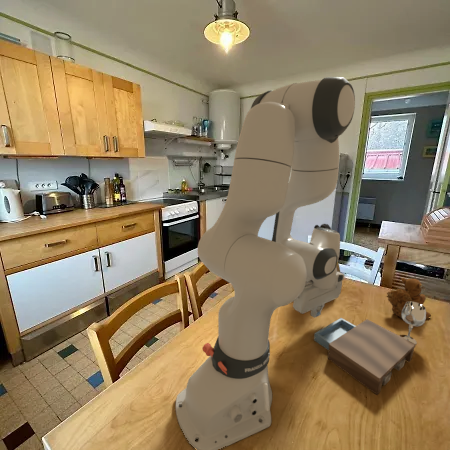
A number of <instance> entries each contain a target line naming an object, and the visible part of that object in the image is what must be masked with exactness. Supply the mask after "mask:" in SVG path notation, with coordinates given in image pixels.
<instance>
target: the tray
mask: <svg viewBox="0 0 450 450" xmlns="http://www.w3.org/2000/svg"><path fill="white" fill-rule="evenodd" d="M356 326H357V325H356V324H355V325H354V324H353V323H351V322H350V321H348V320H346V319H344V318H342V317H340V318H339V319H337V320H334V321H333V322H332V323H329V324H328V325H327V326H324V327H323V328H321V329H320V330H318V331H316V332H314V334H313V335H314V336H313V341H315V342H316V343H317V344H318V345H321V347H323V348H324V349H325V350H327V351H329V344H330V343H331V342H333V341H334V340H336V339H337V338H339V337H340V336H342V335H343V334H345V333H347V332H348V331H350V330H351V329H353V328H354V327H356Z"/></svg>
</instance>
